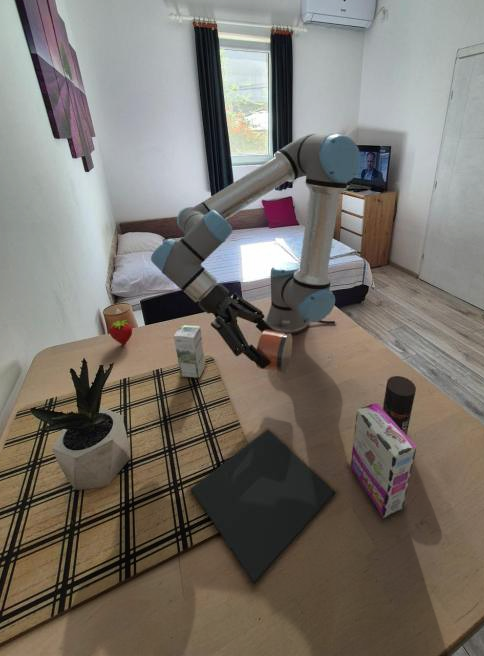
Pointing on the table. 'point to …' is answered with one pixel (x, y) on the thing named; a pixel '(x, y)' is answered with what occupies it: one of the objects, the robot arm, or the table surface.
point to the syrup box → (189, 351)
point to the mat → (261, 501)
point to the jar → (275, 350)
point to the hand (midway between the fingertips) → (271, 351)
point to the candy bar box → (382, 458)
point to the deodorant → (399, 401)
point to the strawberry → (121, 331)
